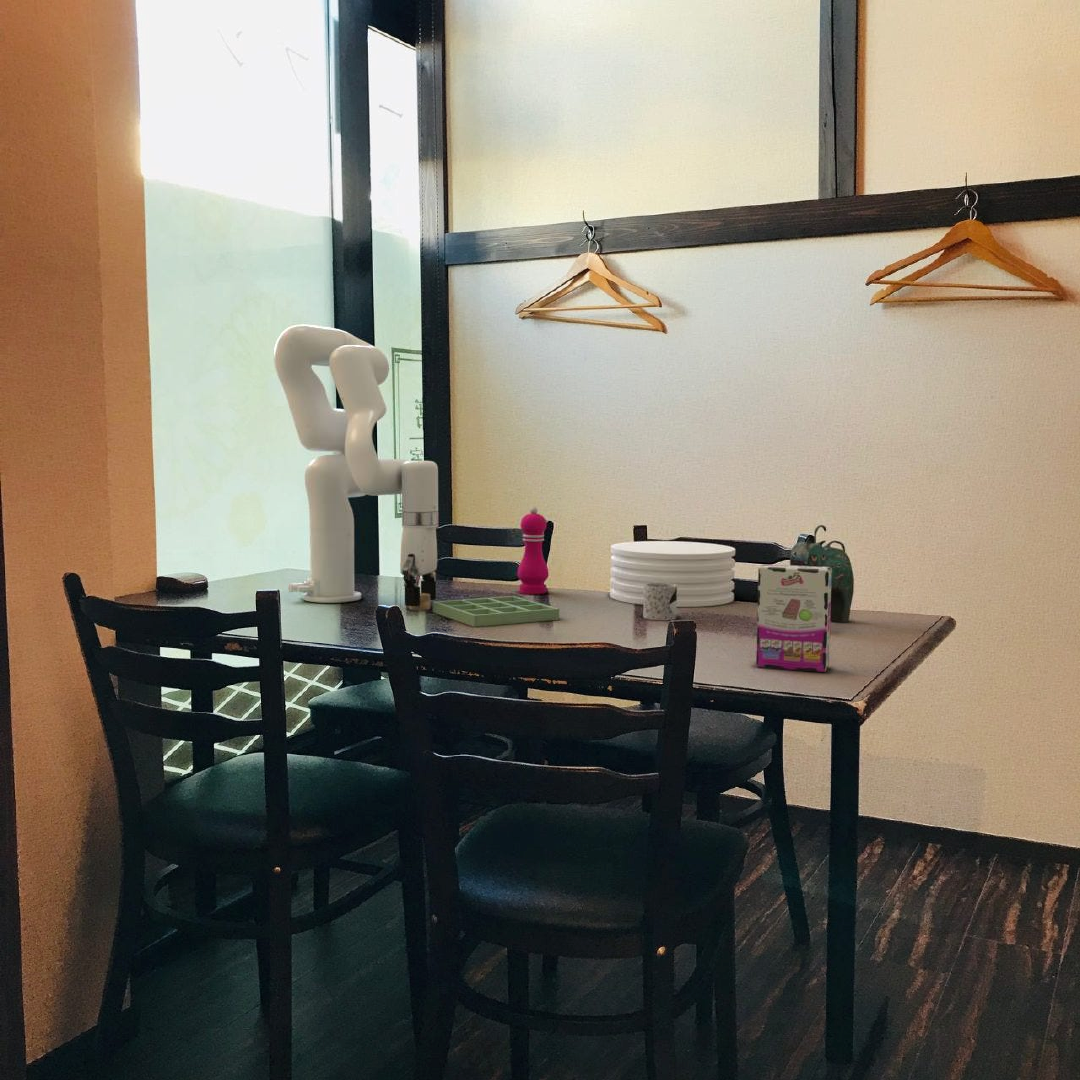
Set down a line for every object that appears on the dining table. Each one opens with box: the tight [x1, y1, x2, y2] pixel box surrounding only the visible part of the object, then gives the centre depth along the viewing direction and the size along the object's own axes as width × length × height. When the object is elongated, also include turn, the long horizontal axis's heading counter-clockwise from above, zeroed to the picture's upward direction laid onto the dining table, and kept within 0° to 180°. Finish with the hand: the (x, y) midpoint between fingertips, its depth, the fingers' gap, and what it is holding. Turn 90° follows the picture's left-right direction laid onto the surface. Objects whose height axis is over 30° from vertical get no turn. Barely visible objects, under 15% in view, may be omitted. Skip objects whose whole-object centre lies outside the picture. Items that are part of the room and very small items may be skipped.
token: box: [408, 592, 431, 611], centre depth 234 cm, size 4×4×3 cm
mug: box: [642, 583, 677, 621], centre depth 227 cm, size 10×7×7 cm, turn 177°
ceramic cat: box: [789, 524, 855, 623], centre depth 218 cm, size 20×6×20 cm, turn 137°
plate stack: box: [609, 540, 736, 608], centre depth 253 cm, size 28×28×12 cm
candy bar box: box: [755, 564, 832, 673], centre depth 179 cm, size 11×5×16 cm, turn 69°
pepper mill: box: [517, 506, 549, 595], centre depth 258 cm, size 7×7×20 cm
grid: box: [432, 595, 560, 628], centre depth 226 cm, size 19×19×2 cm
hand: (420, 602), depth 233 cm, fingers open, 8 cm apart
